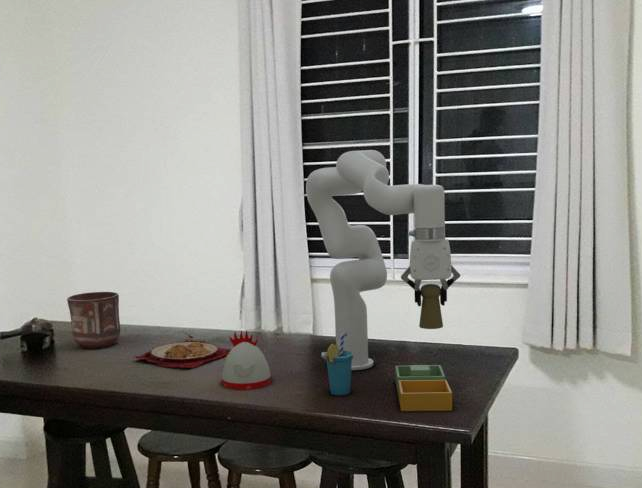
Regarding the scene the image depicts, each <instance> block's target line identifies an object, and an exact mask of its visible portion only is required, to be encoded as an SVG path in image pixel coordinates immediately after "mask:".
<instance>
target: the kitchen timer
mask: <svg viewBox="0 0 642 488" xmlns="http://www.w3.org/2000/svg"><path fill="white" fill-rule="evenodd" d="M243 335H244V336H243ZM228 337H229V341H230V343H231V344H232V346H233V347H232V348H230V349H231V351H230V352H229V351H228V352H229V354H228V355H227V356H226V355H225V356H224V365H223V369H222V373H221V381H222V383H221V384H222V386H223V387H224V388H227V389H231V390H253V389H258V388H259V389H260V388H263V387H266V386H268V385H269V384H270V383H271V382H272V381H271V380H272V379H271V377H272V376H271V371H270V367H269V364H268V362H267V361H268V360H267V359H266V357H265V354H264V353H263V352H262V351H261V349H260V348H259V347H258V346H256V345H257V344H258V341H259V337H256V340H255V341H253V337H254V334H253V333H252V334H251V335H250V337H249V334H248V330H245V334H243V331H242V330H241V331H240V333H239V337H238V335H237V333H236V331H234V332H233V338H232V337H231V336H230V335H229V336H228Z"/></svg>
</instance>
